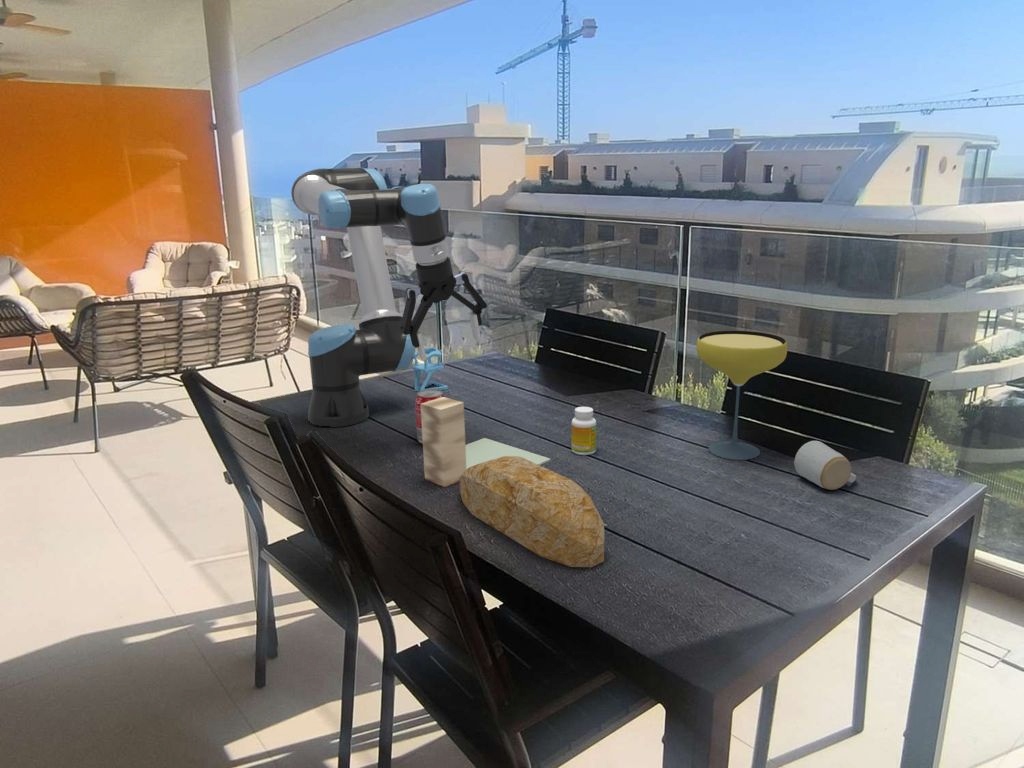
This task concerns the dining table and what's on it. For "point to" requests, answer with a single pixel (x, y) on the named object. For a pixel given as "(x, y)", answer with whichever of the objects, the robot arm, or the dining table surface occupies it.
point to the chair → (428, 370)
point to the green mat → (496, 452)
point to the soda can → (421, 398)
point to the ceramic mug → (823, 466)
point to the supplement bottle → (583, 431)
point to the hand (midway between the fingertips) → (450, 348)
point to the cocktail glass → (740, 372)
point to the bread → (535, 509)
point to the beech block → (443, 440)
